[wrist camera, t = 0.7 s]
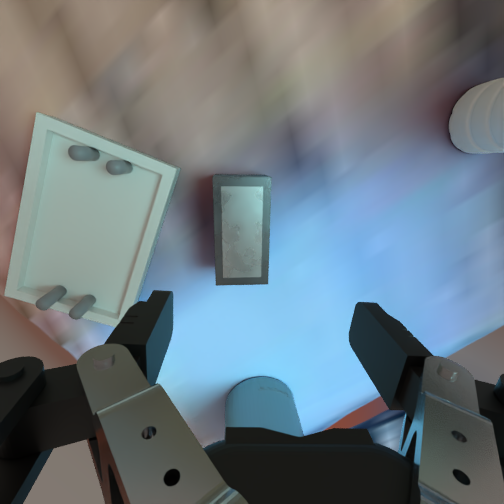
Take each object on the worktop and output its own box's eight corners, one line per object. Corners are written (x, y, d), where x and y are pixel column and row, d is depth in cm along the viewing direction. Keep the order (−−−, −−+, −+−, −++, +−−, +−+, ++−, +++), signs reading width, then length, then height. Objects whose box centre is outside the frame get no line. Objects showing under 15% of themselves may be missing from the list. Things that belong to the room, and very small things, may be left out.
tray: (131, 319, 32) (118, 341, 28) (19, 286, 30) (-13, 305, 26) (180, 168, 27) (172, 169, 24) (52, 116, 25) (19, 107, 21)
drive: (262, 265, 32) (268, 284, 27) (217, 266, 31) (215, 285, 26) (264, 174, 29) (271, 177, 24) (215, 174, 28) (212, 176, 23)
